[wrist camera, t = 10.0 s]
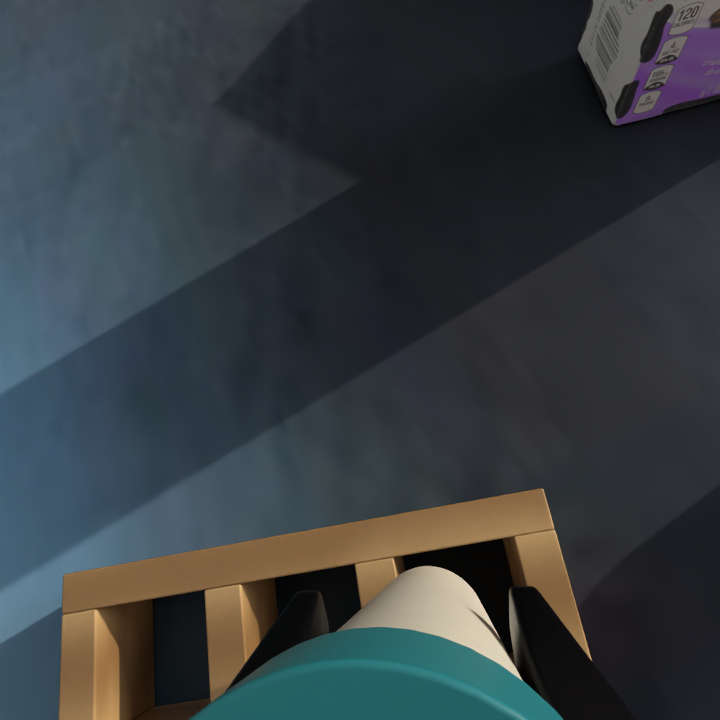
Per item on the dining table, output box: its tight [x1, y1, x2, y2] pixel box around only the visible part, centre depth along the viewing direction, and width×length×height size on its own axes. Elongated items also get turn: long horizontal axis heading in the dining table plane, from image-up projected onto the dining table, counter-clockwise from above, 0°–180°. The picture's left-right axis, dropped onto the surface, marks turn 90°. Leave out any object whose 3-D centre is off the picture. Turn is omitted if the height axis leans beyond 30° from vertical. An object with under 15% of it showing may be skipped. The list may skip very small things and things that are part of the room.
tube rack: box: [59, 488, 592, 720], centre depth 19 cm, size 7×18×4 cm, turn 100°
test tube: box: [188, 566, 563, 720], centre depth 9 cm, size 4×4×13 cm
